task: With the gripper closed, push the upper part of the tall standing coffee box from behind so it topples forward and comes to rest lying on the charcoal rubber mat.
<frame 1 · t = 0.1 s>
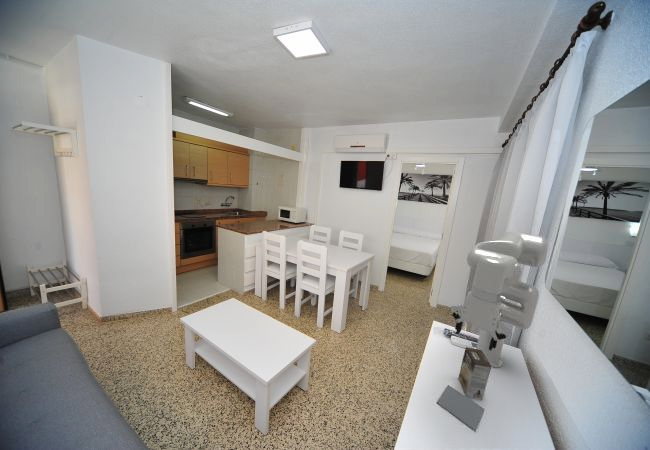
hand: (473, 340, 76), 31 cm above the table, fingers open, 9 cm apart
mat: (460, 406, 85), on the table
coffee box: (469, 389, 94), on the table
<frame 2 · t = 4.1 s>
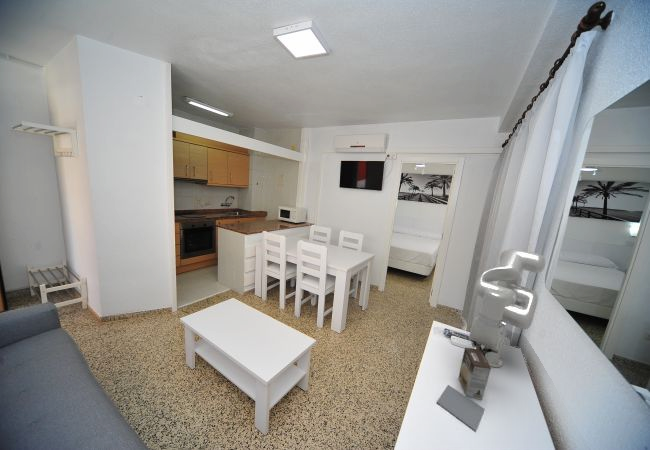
hand: (479, 358, 95), 12 cm above the table, fingers closed
coffee box: (469, 388, 93), on the table, touching gripper
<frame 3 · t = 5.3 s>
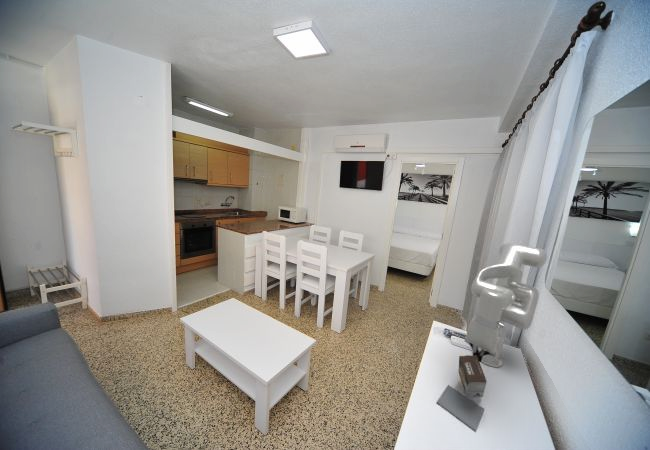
hand: (476, 361, 90), 14 cm above the table, fingers closed
coffee box: (470, 384, 93), point 3 cm above the table, touching gripper
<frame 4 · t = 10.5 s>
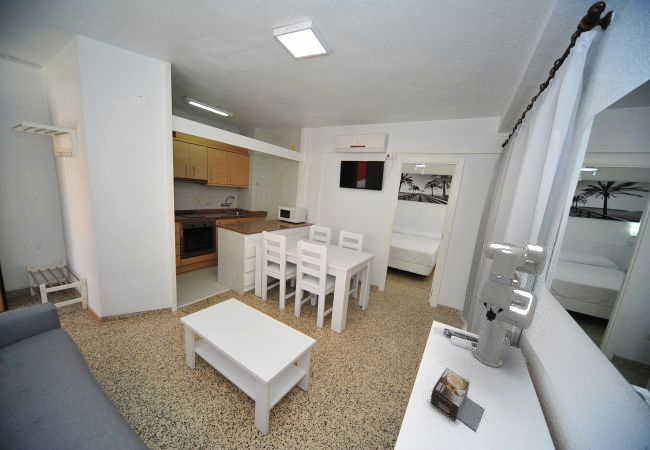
hand: (490, 319, 93), 29 cm above the table, fingers closed
coffee box: (457, 380, 93), point 4 cm above the table, touching mat
at the end: coffee box tilted 90°; coffee box touching mat; the gripper is holding nothing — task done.
